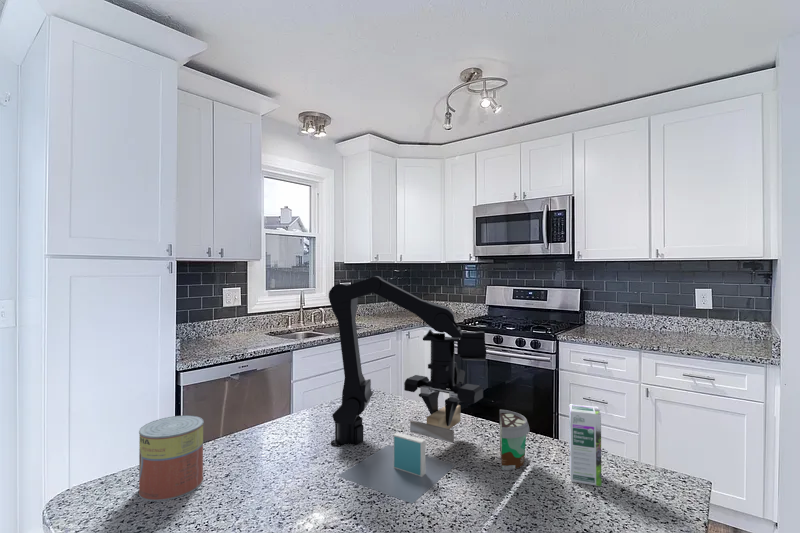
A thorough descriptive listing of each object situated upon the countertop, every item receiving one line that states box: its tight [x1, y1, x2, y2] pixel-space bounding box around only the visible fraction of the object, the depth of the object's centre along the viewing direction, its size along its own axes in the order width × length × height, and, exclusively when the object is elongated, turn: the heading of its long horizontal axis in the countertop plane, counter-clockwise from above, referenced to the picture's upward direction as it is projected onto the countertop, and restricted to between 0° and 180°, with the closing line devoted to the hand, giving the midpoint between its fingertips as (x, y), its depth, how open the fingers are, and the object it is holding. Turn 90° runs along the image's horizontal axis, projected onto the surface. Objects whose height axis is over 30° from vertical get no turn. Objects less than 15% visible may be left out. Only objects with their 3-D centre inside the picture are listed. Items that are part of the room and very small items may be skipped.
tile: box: [393, 432, 426, 477], centre depth 87 cm, size 7×2×7 cm, turn 56°
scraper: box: [409, 404, 462, 443], centre depth 100 cm, size 13×11×4 cm
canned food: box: [138, 414, 205, 502], centre depth 82 cm, size 11×11×12 cm
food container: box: [499, 409, 530, 471], centre depth 91 cm, size 12×6×10 cm, turn 168°
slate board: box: [337, 444, 457, 505], centre depth 87 cm, size 18×18×1 cm
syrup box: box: [568, 403, 603, 488], centre depth 85 cm, size 6×6×14 cm
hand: (442, 424), depth 99 cm, fingers closed on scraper, 3 cm apart
